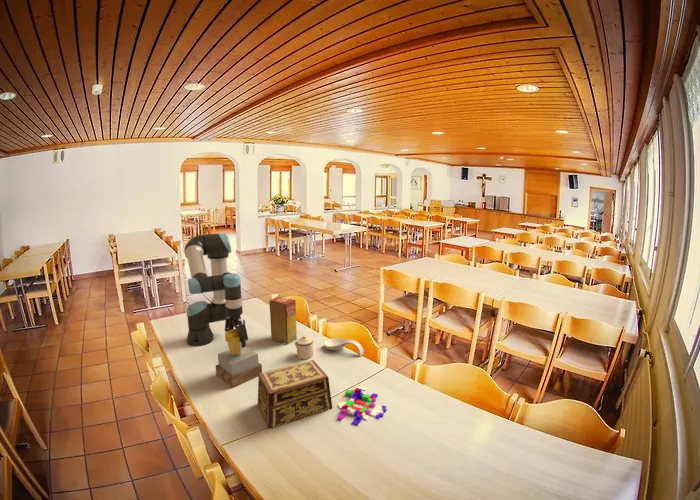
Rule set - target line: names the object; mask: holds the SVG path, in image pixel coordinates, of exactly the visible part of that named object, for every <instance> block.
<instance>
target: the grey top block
mask: <svg viewBox="0 0 700 500" xmlns="http://www.w3.org/2000/svg"><path fill="white" fill-rule="evenodd" d="M217 361H218V364H219V366H220V367H222V368H223V369H224V370H225V371H227V372H228V373H229V374H231V375H232V376H233V375H236V374H238V373H241V372H243V371H245V370H248V369H250V368H253V367H255V366H258V365H259V361H260V360H259V353H258V352H256V351H255V350H253V349H251V348H250V347H248V346H246V353H243V354H232V353H230V350H229V349H228V350H225V351H222V352H220V353H218V354H217Z"/></svg>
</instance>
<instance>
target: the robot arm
mask: <svg viewBox="0 0 700 500" xmlns="http://www.w3.org/2000/svg"><path fill="white" fill-rule="evenodd" d="M183 253H184V257H185V258H186V259H187V263H188V267H189V273H190V278H188V280H187V285H188V287H187V288H188V293H189V294H190V295H195V294H204V293H211V292H212V295H213V297H212V298H211V300H210V302H208V301H206V300H201V301H196V302H193V303H191V304H189V305H188V306H187V307H186V318H187V326H188V328H187V329H188V331H187V336H186V344H187V346H190V347H201V346H205V345H207V344H211V343H212V342H213V341H214V339H215V338H214V336H215V335H214V333H213V331H212V329H211V326H210V324H211V323H215V322H217V323H218V322H222V321H225V323H224V324H225V325H224V331H225V333H226V332H227V331H229V330H232V329H237V332H238V335H239V338H240V341H239V342H240V354H243V353H246V347H247V345H246V343H247V342H246V341H248V340H249V336H248V330H247V328H246V320H245V319H242V318H241V315H242V314H243V313H244V311H243V301H242V300H243V299H242V298H243V297H242V296H243V295H242V289H241V288H242V285H241V283H242V280H241V277H240V274H239V273H233V272H230V271H228V266H227V259H228V257H230V256H229V254H231V253H232V246H231V242H230V238H229V236H228V234H227V233H220V232H218V233H210V234H209V233H207V234H199V235H195V236H193V237H191V238H190V239H189V240H188V241H187V242H186V244H185V246H184V249H183ZM204 256H207V259H208V260H210V268H211V275H209V276H208V271H207V267H206V263H205V260H204ZM246 330H247V331H246Z"/></svg>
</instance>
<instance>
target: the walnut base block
mask: <svg viewBox="0 0 700 500" xmlns="http://www.w3.org/2000/svg"><path fill="white" fill-rule="evenodd" d="M215 373H216V377H218V378H219V379H220V380H222V381H223V382H224V383H225V384H227V385H228V386H229V387H230V388H232V389H234V388H236V387H238V386H239V387H240V385H243V384H246V383H247V382H249V381H252V380H253V379H254V380H255V379H256V378H259V373H263V365H262V363H259V365H258V366H255V367H253V368H250V369H248V370H245V371H243V372H241V373H238V374H236V375H233V376H232V375H231V374H229V373H228V372H227V371H225V370H224V369H223V368H222V367H220V366H219V363H218V364H215Z"/></svg>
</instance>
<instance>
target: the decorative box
mask: <svg viewBox="0 0 700 500" xmlns="http://www.w3.org/2000/svg"><path fill="white" fill-rule="evenodd" d="M257 386H258V387H257V406H258V408H259V410H260V413H261V415H262V417H263V419H264V421H266V422H265V424H266V426H267V428H268V429H269V428H272V429H274V428H273V427H275V428H277V427H276V426H278V427H279V425H281V426H283V425H282V424H284V425H286V424H285V423H287V424H289V422H290V423H293V422H295V420H296V421H299V420H302V419H304V417H305V418H307V416H308V417H310V415H311V416H313V414H314V415H317V414H320V413H323V412H325V411H329V410H332V409H333V403H332V402H333V401H332V397H331V396H332V393H331V388H330V387H331V386H330V379H329V376H328V375H327V374H326V373H325V371H324V370H323V369H322V368H321V367H320V366H319V365H318V363H317V362H316V361H315V360H314V359H311V360H310V359H308V360H306V361H302V362H299V363H298V362H297V363H294V364H291V365H290V364H289V365H287V366H282V367H279V368H275V369H271V370H267V371H262V373H259V376H258V382H257ZM328 409H329V410H328ZM322 411H323V412H322ZM319 412H320V413H319ZM316 413H317V414H316ZM301 418H302V419H301ZM298 419H299V420H298ZM292 421H293V422H292Z"/></svg>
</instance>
